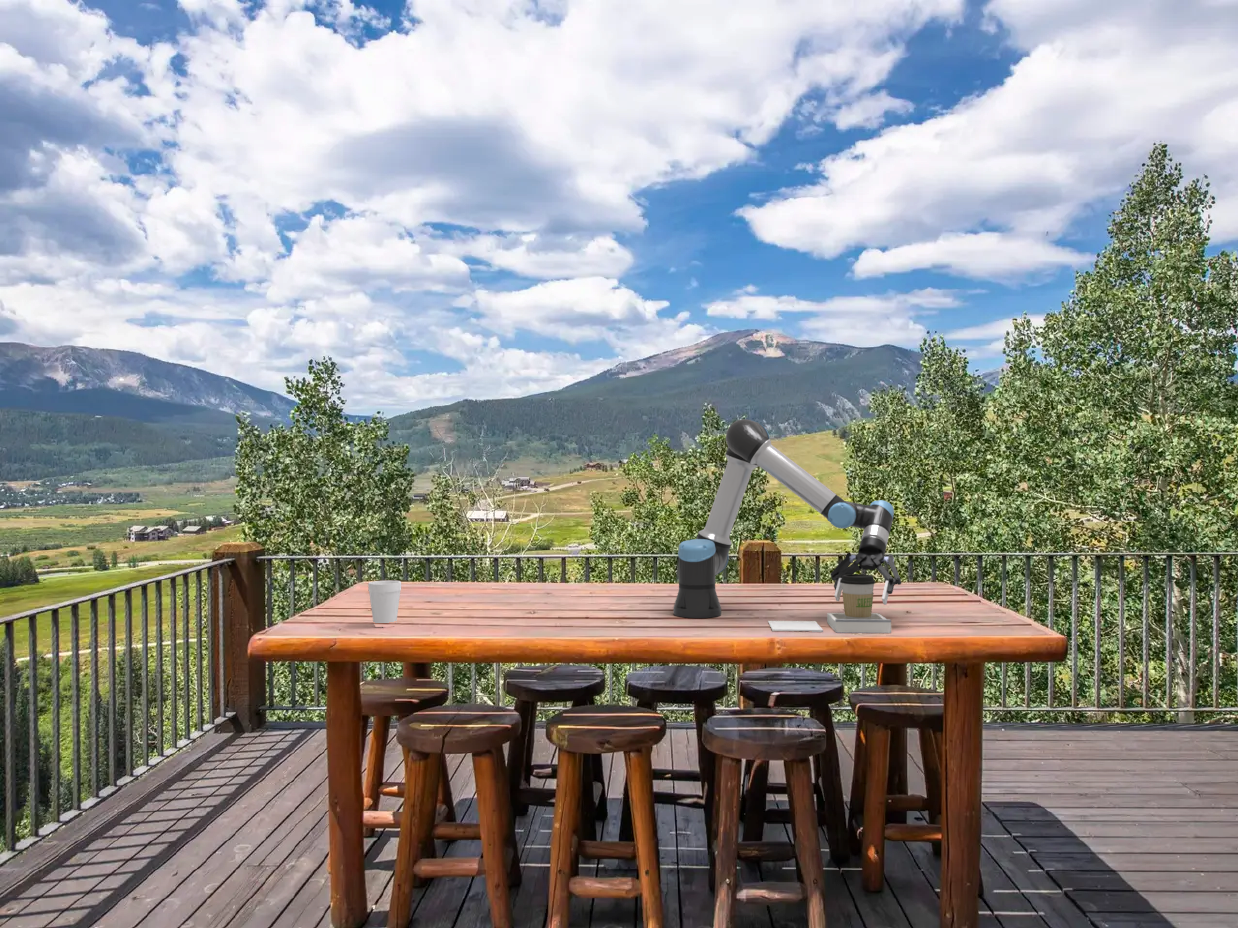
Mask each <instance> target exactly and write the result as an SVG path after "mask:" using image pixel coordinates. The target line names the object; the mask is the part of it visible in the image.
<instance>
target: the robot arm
mask: <svg viewBox="0 0 1238 928" xmlns="http://www.w3.org/2000/svg"><path fill="white" fill-rule="evenodd" d="M770 438H771V437H770V434H769V432H768V430H767V428H766V427H765V426H764V425H763V424H762V423H760V422H758V421H754V420H751V419H746V418H743V419H738V420H735V421H734V422H732V423H731V424H730V425H729V426H728V429H727V430H726V433H725V442H726V444H727V449H726V451H725V457H726V460H727V463H726V466H725V470H724V472H723V475H722V478H721V480H720V484H719V486H718V489H717V491H716V495H715V498H714V501H713V504H712V506H711V509H710V513H709V515H708V519H707V520H706V523H705V527H704V529H702V530H699V531H698V532H697V536H696V538H695V539H687V540H684V541H681V542H680V544H678V550H677V555H678V592H677V595H676V598H675V601H674V605H673V615H674V616H677V617H681V618H688V619H689V618H691V619H703V618H705V619H706V618H709V619H710V618H716V617H720V616H721V615H722V607H721V603H720V600H719V597H718V595H717V591H716V576H717V575H719V574H720V573H722V572H723V571H725V569H726V567H727V565H728V563H729V557H730V556H729V552H730V550H731V546H732V544H733V543H732V541H731V539H730V536H731V532H732V529H733V527H734V524H735V522H736V519H737V517H738V516H737V515H738V512H739V510H740V507H741V503H742V502H743V498H744V496H745V493H746V489H747V487H748V484H749V481H750V478H751V476H752V473H753V470H755V469H756V468H758V467H760V468H761V469H762V470H763V471H765V472H766V473H768V475H770V476H771V477H773V478H774V479H775V480H776V481H778V482H779V483H781V484H782V485H783V486H784V487H785V488H787V489H788V490H790V491H791V492H792V493H793V494H795V495H796V496H797V497H799V499H801V500H802V501H804V502H805V503H807V504H808V505H809V506H811V508H813V509H814V510H815V511H817V512H818V513H819V514H821V515H822V516H823V517H824V518H825V519H826V520H827V521H828V522H830V524H831V525H832V526H833V527H835V528H838V529H847V528H849V527H851V528H858V529H862V530H863V531H862V532H863V533H862V536H861V540H860V543H859V544H860V545H859V547H858V553H857V554H856V555H855V554H852V553H850V552H847V553H846V555H845V558H844V559H842V561H840V563H839V564H838V565H837V566H836V567H835V568H834V569H833V570H832V571H831V572H830V577H831V579H832V581H833V582H834V583H833V588H834V592H835V593H834V595H833V596H834V598H835V601H836V602H840V599H841V596H842V592H843V591H842V583H840V580H841V579H842V575H845V574H856V572H860V571H861V570H870V571H874V570H877V571H878V573H879V574H881V576H882V577H883V578H884V579H885V583H884V587H883V591H882V596H881V601H882V604H883V605H887V604H888V598H889V595H892V594H893V592H894V586H896V585H897V586H898V585H902V580H901V577H900V575H899V572H898V570H897V568H896V565H895V559H894V555H893V553H892V554H888V556H885V554H886V550H887V547H888V541H889V536H890V533H891V530H892V529H891V528H892V524H893V520H894V514H895V511H894V510H895V509H894V507H893V505H892V504H891V503H890V502H888V501H887V500H882V499H880V500H874V501H872V502H871V503H870V505H868V504H860V503H856V502H851V501H848V500H845V499H843V498H842V497H840V496H839V495H837V494H836V493H835V492H833V491H832V490H831V489H830V488H828V487H827V486H826V485H825V484H823V483H822V482H821V481H820V480H818V479H817V478H815V477H814V476H813V475H811V474H810V473H809V472H807V470H805V469H804V468H803V467H801V466H800V465H799V464H797V462H795V461H793V460H792V459H791V458H789V457H788V455H785V454H784V453H783V452H782V451H781V450H779V449H778V448H777V447H775V446H774V445H772V441H771V439H770ZM885 562H886V564H887V565H889V567H890V569H891V572H892V575H893V577H892V576H891V574H890V573H889V572H888V571H887V569H886V568H885V567H884V566H883V564H884V563H885Z"/></svg>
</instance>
